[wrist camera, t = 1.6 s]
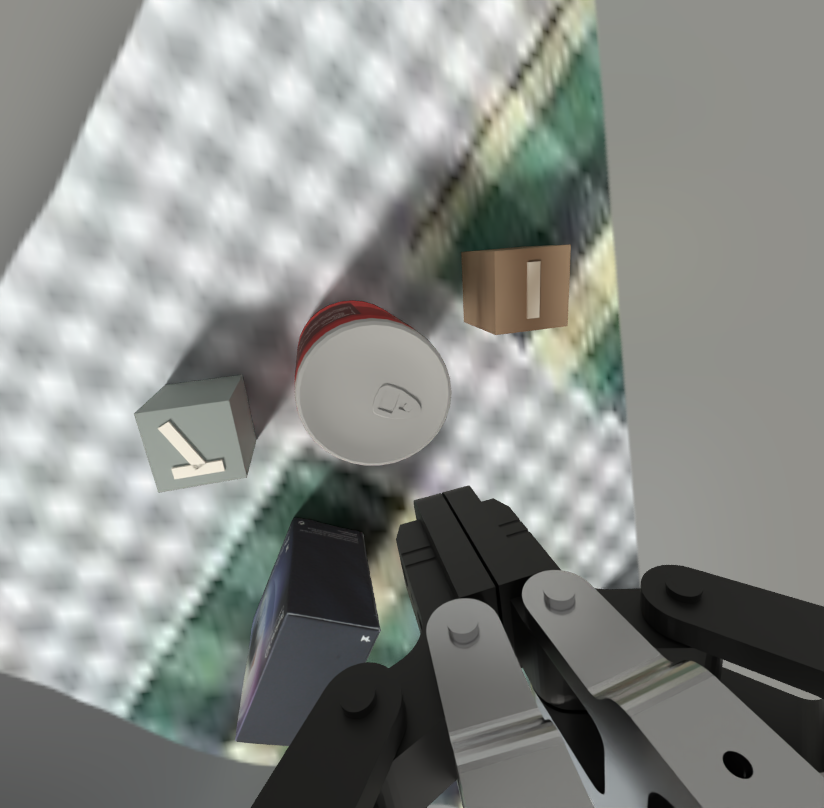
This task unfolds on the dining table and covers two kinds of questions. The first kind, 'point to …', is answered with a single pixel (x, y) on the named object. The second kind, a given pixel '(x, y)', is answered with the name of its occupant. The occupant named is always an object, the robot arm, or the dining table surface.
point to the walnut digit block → (516, 288)
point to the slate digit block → (198, 433)
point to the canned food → (369, 384)
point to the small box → (306, 629)
